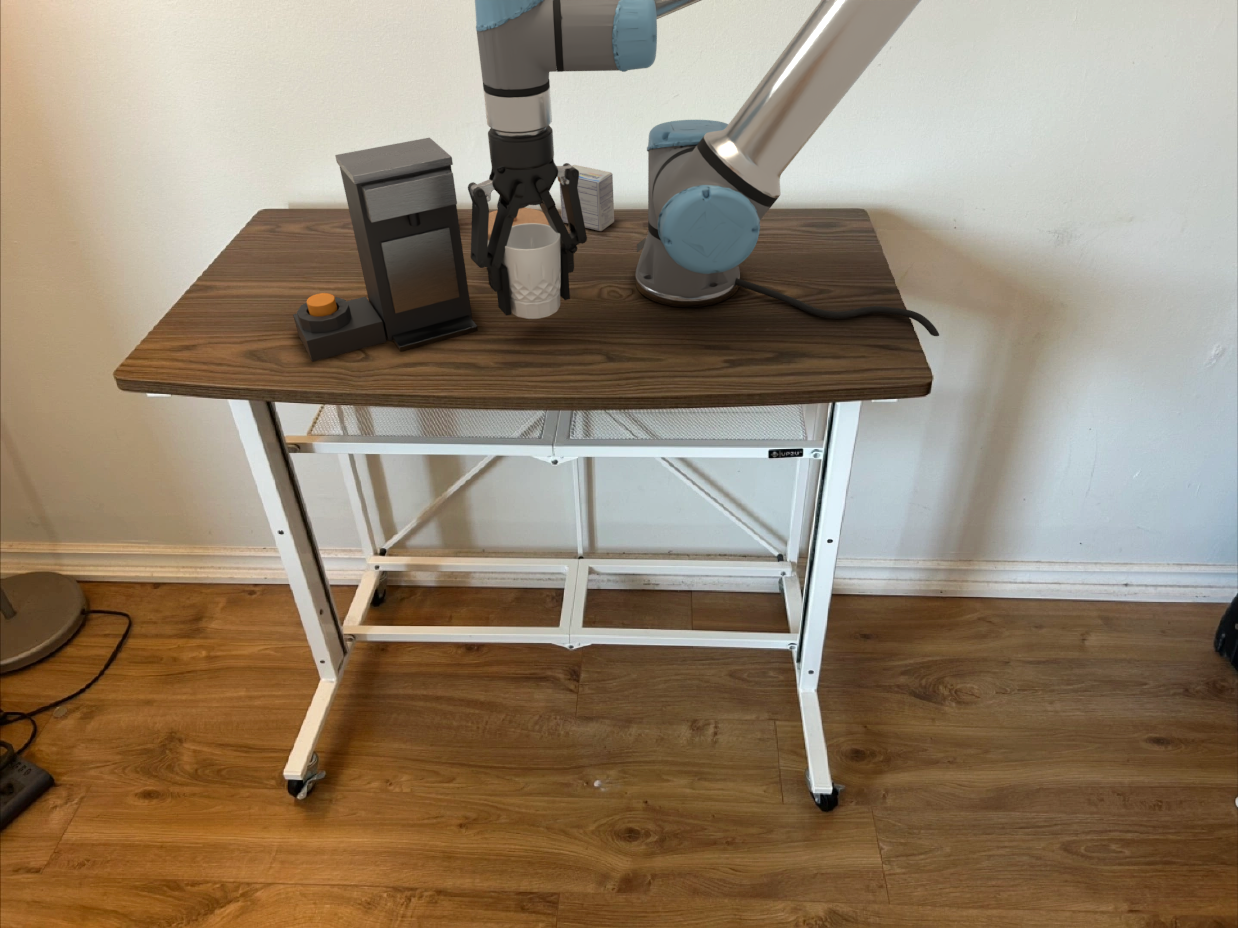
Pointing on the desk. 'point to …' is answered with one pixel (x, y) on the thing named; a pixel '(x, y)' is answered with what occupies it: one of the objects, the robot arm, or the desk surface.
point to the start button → (321, 304)
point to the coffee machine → (409, 240)
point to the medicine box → (594, 198)
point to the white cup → (533, 270)
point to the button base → (339, 328)
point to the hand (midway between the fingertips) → (534, 302)
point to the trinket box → (520, 218)
